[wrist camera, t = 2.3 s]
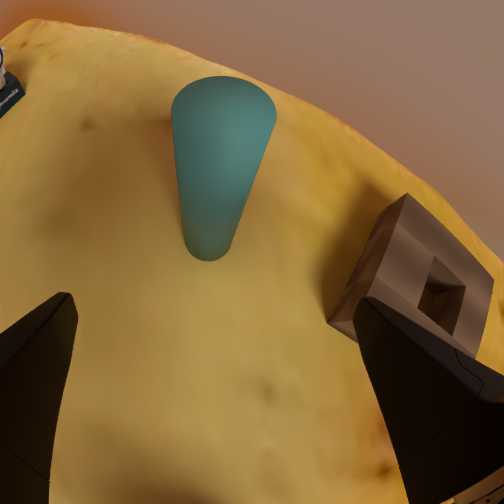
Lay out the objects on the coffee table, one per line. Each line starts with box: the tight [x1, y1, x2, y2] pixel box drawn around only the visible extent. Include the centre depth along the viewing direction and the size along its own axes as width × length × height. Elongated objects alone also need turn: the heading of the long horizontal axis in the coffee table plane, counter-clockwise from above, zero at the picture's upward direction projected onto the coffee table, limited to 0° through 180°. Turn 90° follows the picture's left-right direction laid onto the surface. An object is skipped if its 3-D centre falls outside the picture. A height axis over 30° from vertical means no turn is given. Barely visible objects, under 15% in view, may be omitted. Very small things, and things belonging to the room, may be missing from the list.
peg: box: [171, 76, 277, 261], centre depth 16 cm, size 4×4×14 cm
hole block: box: [327, 193, 494, 359], centre depth 22 cm, size 12×14×4 cm
